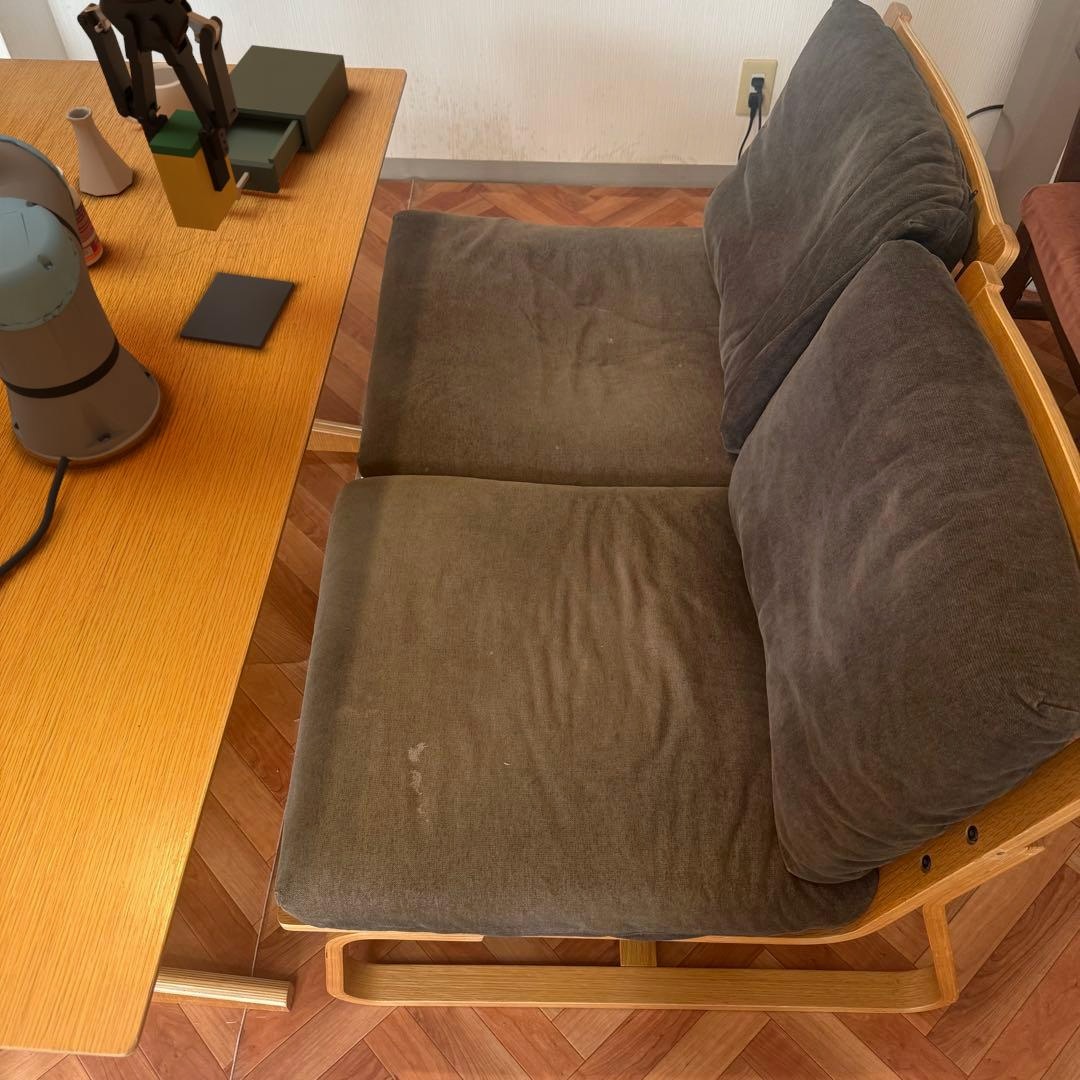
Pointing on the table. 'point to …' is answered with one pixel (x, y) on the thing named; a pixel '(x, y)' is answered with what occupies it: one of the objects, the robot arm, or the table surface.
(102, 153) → the flask
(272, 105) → the cabinet
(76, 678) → the table surface
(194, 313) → the mat
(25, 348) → the robot arm
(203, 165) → the sponge
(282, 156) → the drawer
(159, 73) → the mug
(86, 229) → the pill bottle
